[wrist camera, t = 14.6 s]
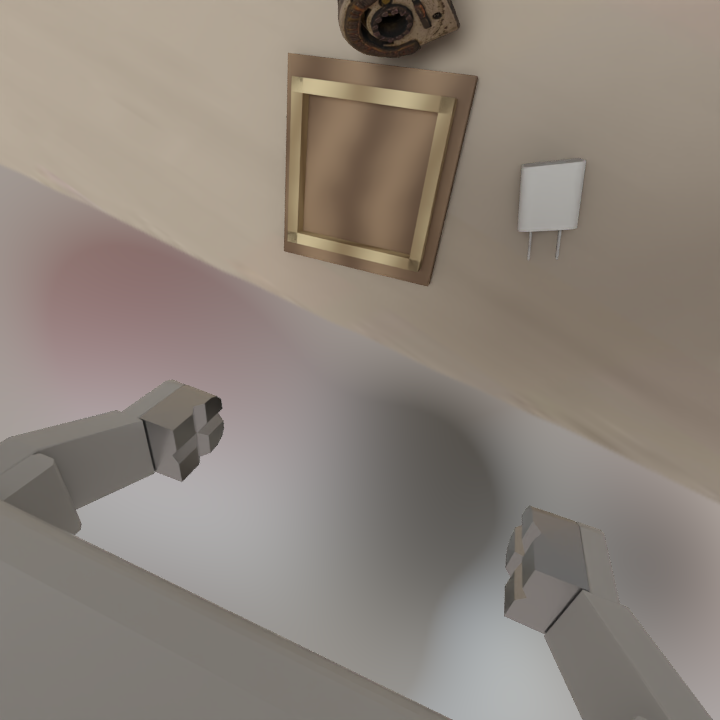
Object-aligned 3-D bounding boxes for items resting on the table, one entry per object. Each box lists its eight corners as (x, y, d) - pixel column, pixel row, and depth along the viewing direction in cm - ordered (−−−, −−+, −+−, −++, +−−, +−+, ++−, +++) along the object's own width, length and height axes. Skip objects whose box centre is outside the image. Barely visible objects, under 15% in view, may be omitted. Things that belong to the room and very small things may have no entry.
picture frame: (478, 77, 29) (475, 73, 27) (429, 283, 37) (425, 290, 35) (294, 55, 32) (280, 50, 30) (288, 248, 40) (278, 254, 39)
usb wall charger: (580, 157, 29) (587, 161, 26) (568, 252, 32) (573, 265, 29) (521, 164, 30) (521, 167, 27) (515, 253, 33) (515, 266, 30)
